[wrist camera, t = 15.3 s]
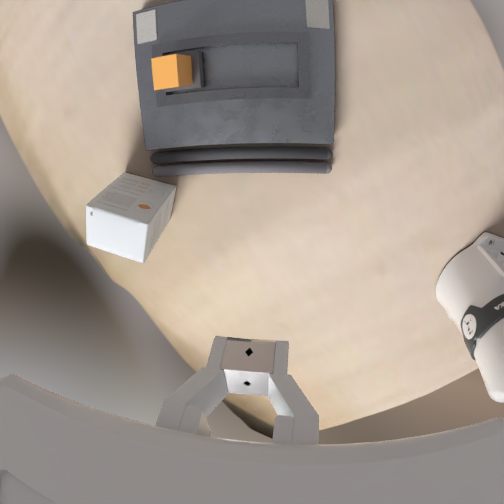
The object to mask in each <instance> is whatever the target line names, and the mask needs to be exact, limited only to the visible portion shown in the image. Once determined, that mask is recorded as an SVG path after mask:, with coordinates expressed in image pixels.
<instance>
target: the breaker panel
mask: <svg viewBox="0 0 504 504" xmlns="http://www.w3.org/2000/svg"><path fill="white" fill-rule="evenodd" d="M133 28H134V45H135V59H136V70H137V81H138V90H139V99H140V108H141V116H142V123H143V130H144V137H145V144H146V150H153V149H163V148H173V147H185V146H199V145H216V144H239V143H311V144H333V142H334V112H335V45H334V18H333V0H182V1H177V2H172V3H167V4H163V5H158V6H154V7H150V8H146V9H142V10H139V11H135V12H133ZM192 51H202V60H203V75H204V87H202V88H194V89H186V90H178V91H171V92H165V89H160V90H154V84H153V73H152V61H151V58H156V57H162V56H167V55H172V54H178V53H185V52H192Z"/></svg>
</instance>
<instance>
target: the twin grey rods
mask: <svg viewBox="0 0 504 504" xmlns="http://www.w3.org/2000/svg"><path fill="white" fill-rule="evenodd" d="M332 155H333V153H332V150H331V149H329V148H317V147H233V148H211V149H194V150H181V151H169V152H159V153H153V154H152V155H151V157H150V160H151V162H152V163H154V164H158V163H169V162H183V161H199V160H219V159H257V158H289V159H330V158H331V157H332ZM331 170H332V166H331V164H330V163H328V162H306V161H240V162H211V163H192V164H177V165H164V166H156V167H154V168H153V175H154V176H156V177H161V176H176V175H194V174H218V173H323V174H327V173H330V172H331Z"/></svg>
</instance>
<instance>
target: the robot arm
mask: <svg viewBox="0 0 504 504" xmlns="http://www.w3.org/2000/svg"><path fill="white" fill-rule="evenodd" d="M436 297H437V300H438V302H439V303H440V304H441V305H442V306H443V307H444V309H445V310H446V311H447V315H448V316H449V318H450V319H451V320H453V321H454V322H455V324H456V326H457V327H458V329H459V330H460V332H461V334H462V335H463V337H464V341H465V344H466V346H467V348H468V351H469V354H470V355H471V357H472V358H473V359H474V360H475V361H476V362H477V365H478V367H479V370H480V372H481V375H482V377H483V380H484V383H485V385H486V388H487V391H488V394H489V396H490V397H491V398H492V399H493V400H495V401H497V402H504V238H502V237H499V236H496V235H493V234H491V233H488V232H485V233H483V234H482V235H481V236H480V237H479V238H478V239H477V240H476V241H475V242H474V243H473V244H472V245H471V246H470V247H468V248H466V249H465V250H463V251H462V252H460V253H459V254H458V255H456V256H455V257H454V258H453V259H452V260H451V261H450V262H449V263H448V264H447V266H446V267H445V268H444V270H443V272H442V273H441V275H440V277H439V279H438V282H437V286H436ZM288 349H289V342H288V341H276V340H259V339H252V340H251V339H241V338H232V337H222V336H216V337H215V338H214V341H213V344H212V348H211V352H210V356H209V359H208V363H207V367H206V368H205V367H203V368H201V369H200V370H199V371H198V372H197V373H196V374H194V375H193V376H192V377H191V378H190V379H188V380H187V381H186V382H185V383H184V384H183V385H181V386H180V387H179V388H178V389H176V390H175V391H174V392H173V393H172V394H170V395H169V396H168V397H167V398H165V399H164V402H163V405H162V408H161V411H160V414H159V417H158V420H157V423H156V426H154V425H150V424H146V423H142V422H139V421H135V420H131V419H128V418H124V417H121V416H117V415H114V414H111V413H108V412H105V411H102V410H99V409H96V408H93V407H90V406H87V405H84V404H82V403H79V402H76V401H74V400H71V399H69V398H66V397H64V396H61V395H59V394H56V393H54V392H51V391H49V390H47V389H45V388H42V387H40V386H38V385H36V384H34V383H32V382H29V381H27V380H25V379H23V378H21V377H19V376H17V375H15V374H9V375H7V376H5V377H3V378H1V379H0V504H504V419H503V418H493V419H490V420H487V421H484V422H480V423H477V424H473V425H469V426H466V427H461V428H457V429H453V430H449V431H444V432H439V433H434V434H429V435H424V436H417V437H411V438H404V439H397V440H388V441H379V442H368V443H355V444H354V443H353V444H330V445H328V444H327V445H318V443H319V442H318V441H319V415H318V414H317V412H316V411H315V409H314V408H313V407H312V405H311V404H310V402H309V401H308V399H307V398H306V396H305V395H304V394H303V392H302V391H301V389H300V388H299V386H298V385H297V383H296V382H295V380H294V379H293V377H292V376H291V375H288V374H287V367H288ZM228 393H239V394H251V395H261V396H268V397H269V399H270V401H271V403H272V405H273V407H274V409H275V411H276V412H277V414H278V416H277V417H276V418H275V424H274V433H273V442H272V443H261V442H250V441H240V440H231V439H223V438H217V437H211V430H210V428H209V425H208V423H207V420H206V417H207V416H208V415H209V414H210V413H211V412H212V411H213V410H214V409H215V408H216V406H217V405H218V404H219V403H220V402H221V401H222V400H223V399H224V398H225V397H226V396H227V394H228Z"/></svg>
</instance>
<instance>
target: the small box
mask: <svg viewBox="0 0 504 504" xmlns="http://www.w3.org/2000/svg"><path fill="white" fill-rule="evenodd" d="M175 192H176V186H174V185H170V184H166V183H163V182H159V181H155V180H152V179H148V178H144V177H140V176H137V175H133V174H129V173H123V174H122V175H121V176H119V177H118V178H117V179H116V180H115V181H113V182H112V183H111V184H110V185H109V186H107V187H106V188H105V189H104V190H103V191H102V192H100V193H99V194H98V195H97V196H96V197H95V198H93V199H92V200H91V201H90V202H89V203H88V204H87V205H86V237H87V245H89V246H92V247H95V248H98V249H101V250H104V251H107V252H110V253H113V254H116V255H119V256H122V257H126V258H129V259H132V260H135V261H138V262H141V263H144V262H145V260H146V259H147V257H148V255H149V254H150V252H151V250H152V249H153V247H154V245H155V244H156V242H157V240H158V239H159V237H160V235H161V234H162V232H163V231H164V229H165V227H166V226H167V224H168V222H169V221H170V217H171V212H172V207H173V202H174V197H175Z"/></svg>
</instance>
